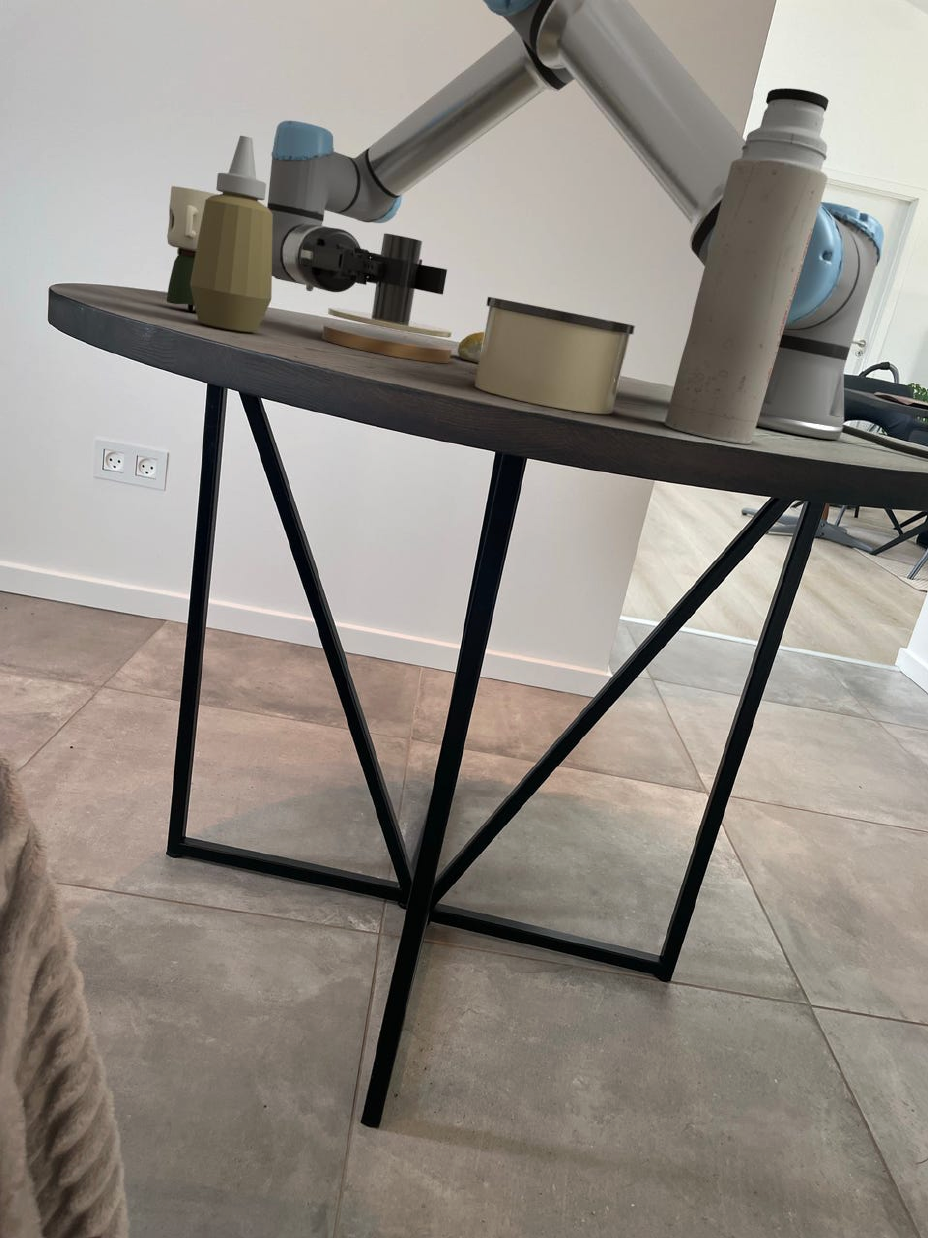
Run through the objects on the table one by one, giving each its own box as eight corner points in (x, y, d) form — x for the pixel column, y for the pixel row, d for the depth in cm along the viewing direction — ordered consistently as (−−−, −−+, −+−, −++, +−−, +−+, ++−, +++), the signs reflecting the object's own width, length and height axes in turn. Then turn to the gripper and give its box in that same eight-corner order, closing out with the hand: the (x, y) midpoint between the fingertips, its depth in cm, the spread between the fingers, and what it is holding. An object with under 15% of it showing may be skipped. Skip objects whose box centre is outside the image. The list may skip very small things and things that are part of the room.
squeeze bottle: (279, 339, 95) (302, 147, 89) (203, 328, 90) (221, 124, 84) (249, 328, 101) (268, 147, 95) (175, 317, 96) (191, 126, 90)
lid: (449, 333, 115) (463, 252, 112) (452, 340, 101) (468, 247, 98) (333, 311, 114) (345, 227, 110) (320, 314, 100) (333, 220, 97)
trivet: (448, 357, 116) (450, 345, 116) (450, 367, 102) (453, 353, 102) (328, 334, 115) (330, 322, 114) (314, 341, 101) (316, 327, 100)
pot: (601, 403, 95) (619, 322, 92) (628, 422, 82) (651, 328, 79) (468, 378, 93) (483, 295, 91) (474, 393, 80) (492, 297, 78)
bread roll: (528, 369, 122) (534, 338, 121) (509, 370, 114) (516, 337, 113) (470, 357, 124) (475, 326, 123) (447, 357, 116) (453, 324, 115)
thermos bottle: (746, 438, 88) (840, 113, 79) (755, 448, 81) (859, 90, 72) (663, 420, 89) (746, 97, 80) (664, 428, 82) (756, 73, 73)
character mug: (178, 305, 114) (187, 191, 110) (235, 316, 114) (246, 203, 110) (147, 306, 104) (156, 180, 100) (210, 318, 104) (222, 193, 100)
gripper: (377, 299, 125) (479, 323, 108) (257, 277, 115) (349, 301, 98) (386, 240, 123) (491, 256, 106) (264, 212, 112) (360, 225, 95)
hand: (423, 277), depth 102 cm, fingers closed on lid, 4 cm apart
